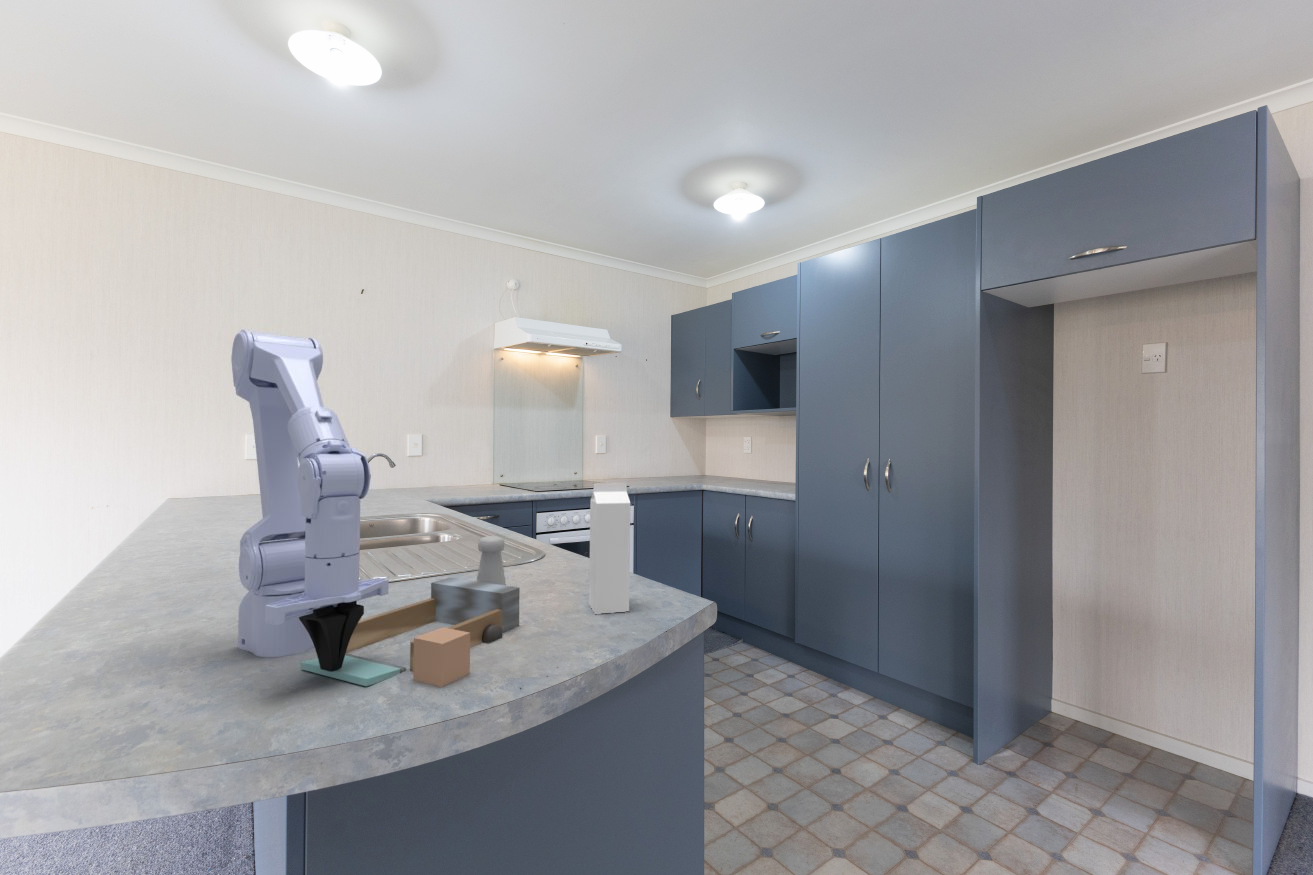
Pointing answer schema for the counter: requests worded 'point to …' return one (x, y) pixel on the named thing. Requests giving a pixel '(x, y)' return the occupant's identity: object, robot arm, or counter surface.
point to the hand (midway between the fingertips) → (331, 668)
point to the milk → (609, 548)
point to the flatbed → (447, 613)
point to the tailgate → (357, 670)
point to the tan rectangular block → (441, 656)
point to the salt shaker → (491, 560)
